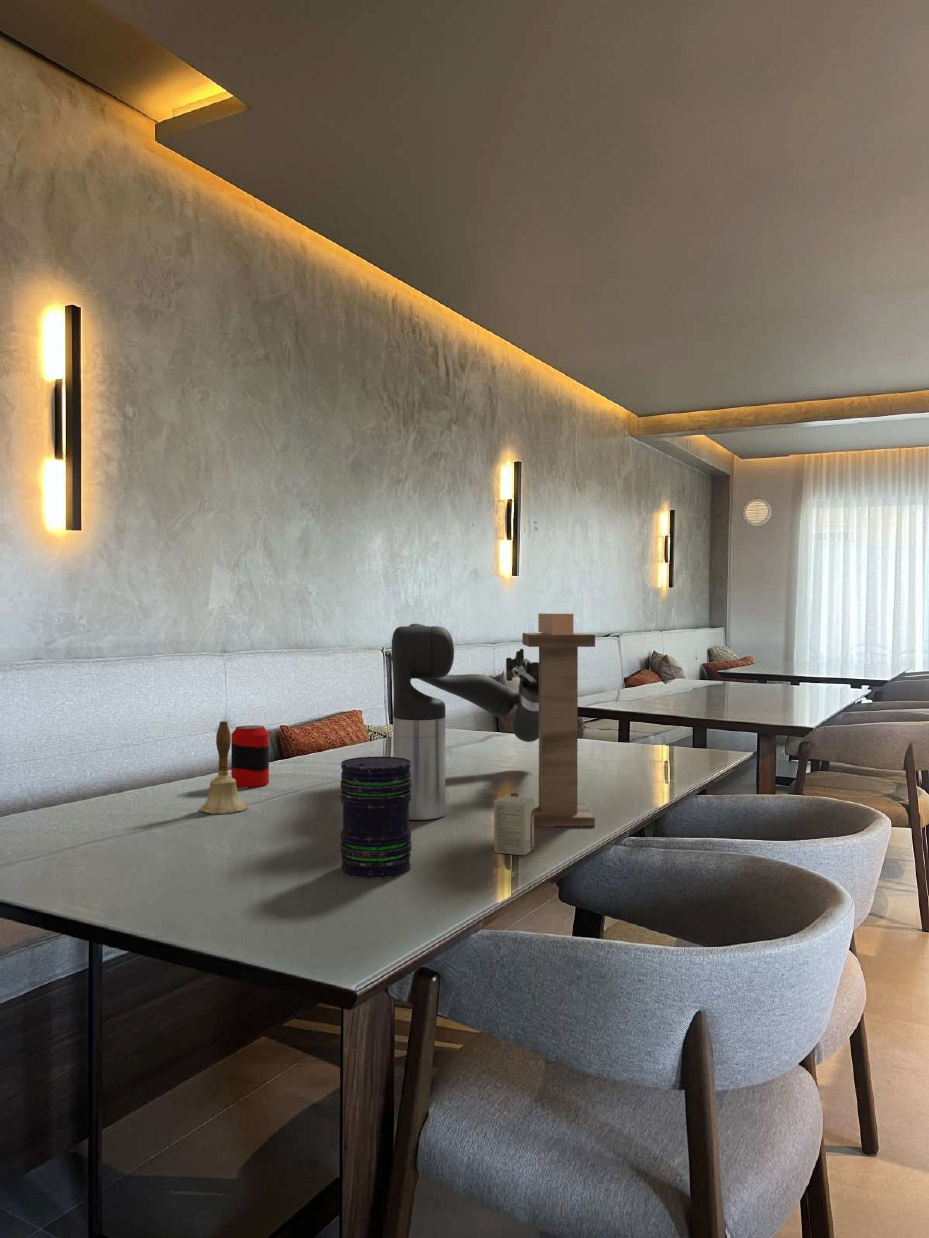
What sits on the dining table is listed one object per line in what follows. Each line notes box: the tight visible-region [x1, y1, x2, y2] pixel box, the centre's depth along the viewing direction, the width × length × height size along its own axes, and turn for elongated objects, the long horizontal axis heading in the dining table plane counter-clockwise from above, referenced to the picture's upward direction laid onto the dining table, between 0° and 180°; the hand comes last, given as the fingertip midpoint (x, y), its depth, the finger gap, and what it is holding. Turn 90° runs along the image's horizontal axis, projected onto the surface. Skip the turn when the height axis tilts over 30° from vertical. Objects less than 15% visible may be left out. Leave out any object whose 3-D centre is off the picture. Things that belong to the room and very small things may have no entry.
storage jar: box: [340, 756, 412, 880], centre depth 131 cm, size 10×10×15 cm
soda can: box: [230, 724, 270, 788], centre depth 194 cm, size 8×8×12 cm
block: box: [537, 613, 574, 635], centre depth 167 cm, size 24×4×4 cm, turn 1°
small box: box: [493, 795, 535, 856], centre depth 140 cm, size 5×4×8 cm
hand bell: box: [199, 720, 248, 815], centre depth 170 cm, size 8×8×16 cm
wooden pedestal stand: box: [521, 632, 596, 828], centre depth 163 cm, size 14×11×32 cm
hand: (543, 652), depth 188 cm, fingers open, 8 cm apart
